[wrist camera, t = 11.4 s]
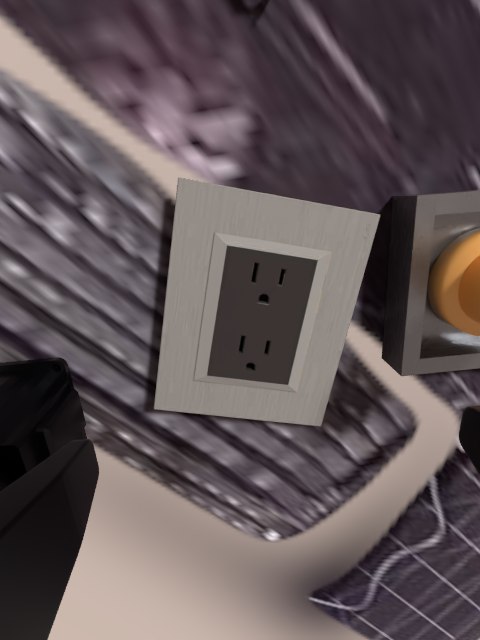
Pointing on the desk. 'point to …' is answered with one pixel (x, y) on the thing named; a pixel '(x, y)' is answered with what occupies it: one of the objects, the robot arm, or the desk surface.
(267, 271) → the electrical outlet
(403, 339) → the gray square tray
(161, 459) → the desk surface
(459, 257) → the orange game pawn
